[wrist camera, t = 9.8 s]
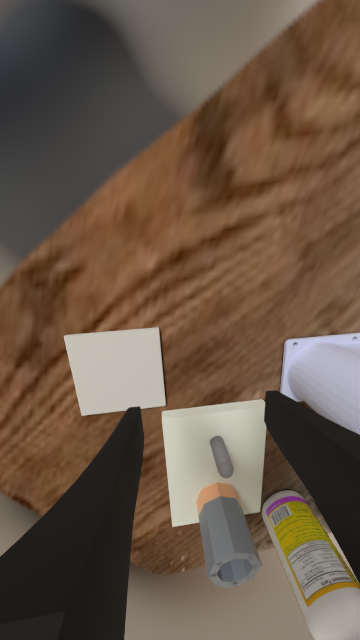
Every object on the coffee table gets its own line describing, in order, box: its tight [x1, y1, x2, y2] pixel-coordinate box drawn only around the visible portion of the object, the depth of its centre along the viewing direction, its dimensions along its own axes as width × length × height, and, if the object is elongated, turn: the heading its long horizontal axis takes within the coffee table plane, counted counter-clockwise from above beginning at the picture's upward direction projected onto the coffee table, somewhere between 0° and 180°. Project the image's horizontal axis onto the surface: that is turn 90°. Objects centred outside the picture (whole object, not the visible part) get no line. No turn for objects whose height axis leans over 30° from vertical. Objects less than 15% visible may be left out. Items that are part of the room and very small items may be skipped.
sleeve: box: [196, 482, 262, 587], centre depth 21 cm, size 5×5×6 cm
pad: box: [64, 327, 166, 416], centre depth 19 cm, size 9×9×1 cm
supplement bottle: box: [262, 490, 360, 640], centre depth 21 cm, size 7×7×13 cm
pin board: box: [162, 399, 266, 527], centre depth 21 cm, size 12×17×5 cm
